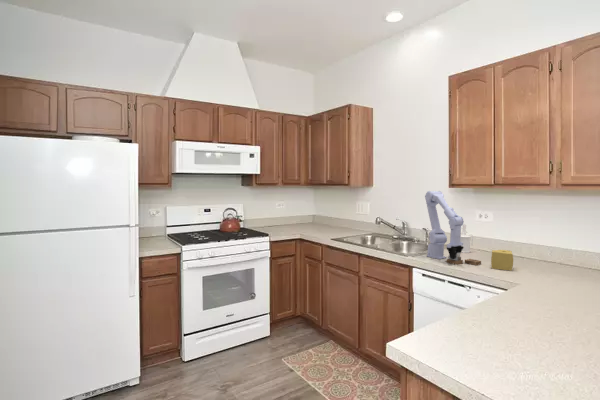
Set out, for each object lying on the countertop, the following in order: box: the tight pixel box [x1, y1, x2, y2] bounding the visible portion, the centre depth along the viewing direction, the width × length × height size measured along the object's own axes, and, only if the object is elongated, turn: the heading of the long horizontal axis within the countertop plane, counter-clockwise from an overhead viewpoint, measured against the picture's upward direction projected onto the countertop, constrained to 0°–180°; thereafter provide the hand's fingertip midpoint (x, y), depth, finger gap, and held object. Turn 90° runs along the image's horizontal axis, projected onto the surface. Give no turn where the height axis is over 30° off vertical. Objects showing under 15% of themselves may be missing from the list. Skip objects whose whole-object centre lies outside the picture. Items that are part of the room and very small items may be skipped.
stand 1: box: [445, 258, 464, 266], centre depth 202 cm, size 7×6×2 cm
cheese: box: [490, 249, 514, 272], centre depth 192 cm, size 10×11×10 cm
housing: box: [447, 252, 462, 261], centre depth 202 cm, size 6×4×5 cm, turn 34°
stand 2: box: [464, 258, 482, 266], centre depth 201 cm, size 7×6×2 cm
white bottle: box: [460, 223, 474, 254], centre depth 236 cm, size 10×9×20 cm
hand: (454, 258), depth 202 cm, fingers open, 5 cm apart
